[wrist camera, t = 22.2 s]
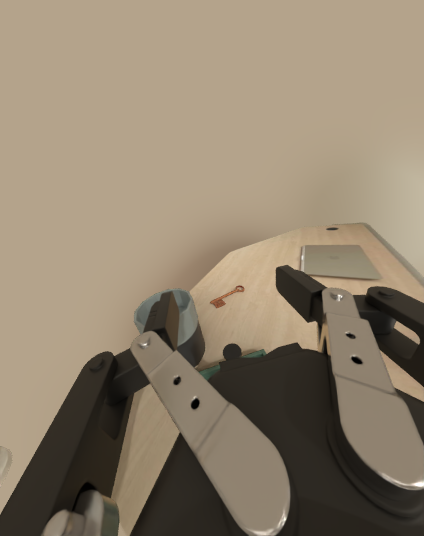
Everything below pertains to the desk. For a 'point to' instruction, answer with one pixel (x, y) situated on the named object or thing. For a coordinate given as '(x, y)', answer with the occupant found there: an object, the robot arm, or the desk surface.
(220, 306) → the key
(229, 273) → the desk surface
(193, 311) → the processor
